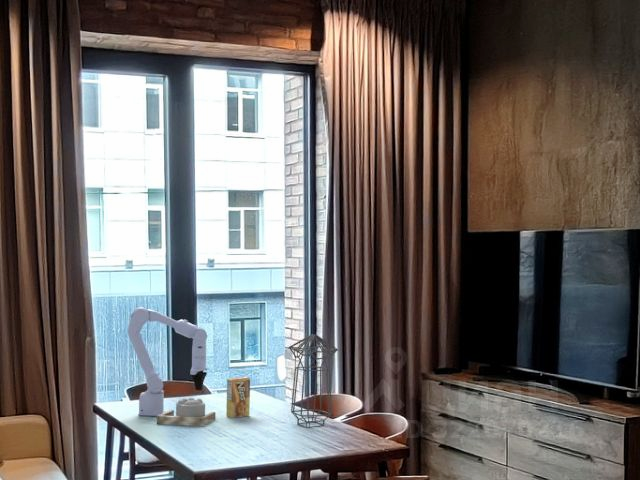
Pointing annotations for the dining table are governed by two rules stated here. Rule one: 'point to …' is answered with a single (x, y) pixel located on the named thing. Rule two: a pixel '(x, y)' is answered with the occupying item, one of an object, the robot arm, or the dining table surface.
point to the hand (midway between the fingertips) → (198, 389)
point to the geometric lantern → (318, 342)
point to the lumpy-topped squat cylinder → (190, 408)
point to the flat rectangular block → (184, 419)
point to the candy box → (238, 397)
